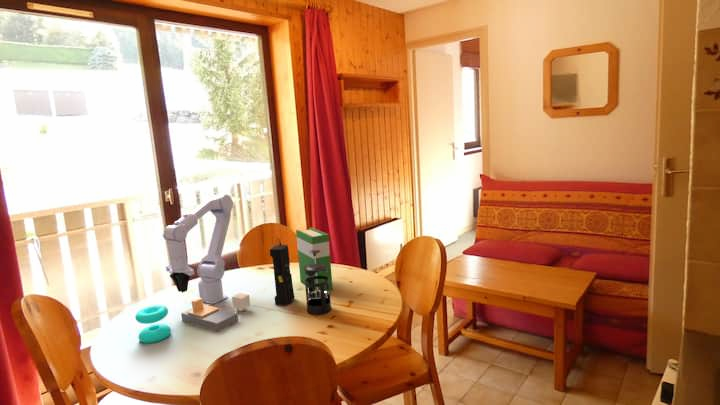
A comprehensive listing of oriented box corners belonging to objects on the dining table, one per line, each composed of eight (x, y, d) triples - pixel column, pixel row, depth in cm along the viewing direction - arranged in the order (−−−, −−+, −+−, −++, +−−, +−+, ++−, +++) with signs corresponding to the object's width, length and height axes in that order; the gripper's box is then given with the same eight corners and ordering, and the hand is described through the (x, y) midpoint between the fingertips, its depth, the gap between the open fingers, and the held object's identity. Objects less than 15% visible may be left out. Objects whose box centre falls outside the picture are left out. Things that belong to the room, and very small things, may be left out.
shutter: (187, 313, 157) (186, 303, 156) (205, 306, 163) (203, 295, 162) (201, 317, 152) (200, 306, 152) (218, 309, 159) (217, 299, 158)
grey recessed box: (182, 321, 158) (181, 313, 158) (202, 311, 166) (201, 304, 165) (218, 331, 148) (217, 323, 147) (238, 321, 155) (237, 313, 154)
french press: (337, 311, 158) (332, 251, 154) (314, 318, 153) (308, 256, 150) (323, 301, 168) (318, 245, 164) (300, 308, 163) (295, 249, 160)
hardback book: (300, 282, 192) (295, 230, 188) (315, 278, 196) (311, 227, 192) (316, 293, 177) (311, 237, 173) (332, 289, 180) (328, 234, 177)
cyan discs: (138, 306, 148) (169, 302, 151) (142, 333, 150) (173, 328, 152) (131, 318, 139) (165, 312, 141) (136, 347, 140) (169, 341, 143)
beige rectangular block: (233, 311, 164) (232, 296, 163) (241, 307, 167) (240, 292, 166) (243, 313, 161) (241, 298, 160) (250, 309, 165) (249, 294, 164)
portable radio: (288, 306, 165) (282, 243, 161) (273, 306, 167) (267, 244, 163) (295, 298, 173) (289, 238, 169) (281, 298, 174) (275, 238, 170)
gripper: (156, 257, 161) (161, 291, 163) (180, 261, 153) (185, 297, 155) (173, 252, 167) (178, 285, 169) (197, 256, 159) (201, 291, 161)
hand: (182, 291), depth 163 cm, fingers closed
